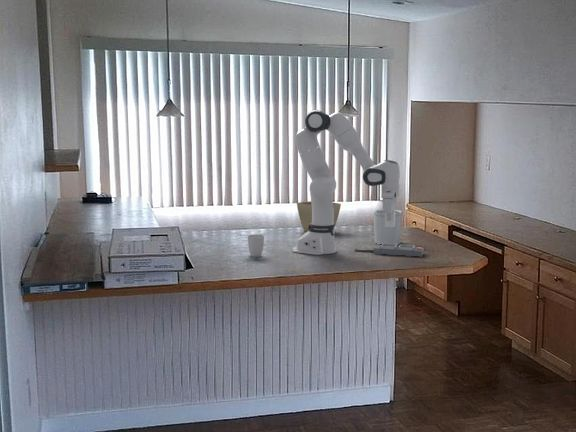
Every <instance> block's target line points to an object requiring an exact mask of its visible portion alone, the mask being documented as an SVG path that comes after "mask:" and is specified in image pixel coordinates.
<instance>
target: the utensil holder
mask: <svg viewBox="0 0 576 432" xmlns="http://www.w3.org/2000/svg"><path fill="white" fill-rule="evenodd" d="M394 210H395V226H394V227H385V213H384V212H383V208H381V209H380V208H379V209H375V210H374V211H373V215H374V219H373V220H374V222H373V225H374V227H373V228H374V231H373V232H374V243H375V244H376V243H377V244H376V245H379V244H382V243H386V244H397V245H400V243H401V226H402V224H401V222H402V210H398V209H394Z"/></svg>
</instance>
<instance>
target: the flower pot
mask: <svg viewBox="0 0 576 432" xmlns="http://www.w3.org/2000/svg"><path fill="white" fill-rule="evenodd" d="M341 205H342V204H341V203H338V202H333V208H334V227H335V228H336V224H337V222H338V218H339V215H340V210H341ZM296 207H297V213H298V217H299V220H300V221H299V222H300V225H301V227H302V229H303V231H304V232H308V231H309V230H308V225H309V224H310V223H312V204H311V200H310V201H300V202H296Z"/></svg>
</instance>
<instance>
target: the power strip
mask: <svg viewBox="0 0 576 432" xmlns="http://www.w3.org/2000/svg"><path fill="white" fill-rule="evenodd" d="M398 245H399V246H398ZM424 250H425V249H424V247H422V246H421V247H419V246H417V247H416V245H414V244H403V243H402V244H400V243H399V244H386V243H382V245H379V244H376V245H375V246H374V247H373V249H365V248H364V249H362V248H355V249H354V251H355V252H363V253H364V252H366V253H373V255H381V254H387V256H396V255H406V256H405V257H411V256H420V257H419V258H422V257H423V256H422V255H424V252H425V251H424Z"/></svg>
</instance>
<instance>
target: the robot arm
mask: <svg viewBox="0 0 576 432" xmlns="http://www.w3.org/2000/svg"><path fill="white" fill-rule="evenodd" d="M304 123H305V127H304V128H302V129H300V130H298V131H297V132H296V134H295V136H294V137H295V139H294V140H295V144H296V147H297V151H298V153H299V157H300V159H301V162H302V165H303V167H304V169H305V171H306V172H307V174H308V176H309V177H310V179H311V183H310V184H309V192H310V195H309V196H310V201H311V204H312V223H310V224H309V225H308V230H309V231H305V232H304V233H303V234H302V235H300V237H298V238H297V243H296V246H294V247H293V248H292V250H291V251H292V253H296V254H297V253H299V254H307V255H314V256H315V255H317V256H321V255H330V254H335V253H336V252H337V249H336V243H335V233H336V231H335V230H336V229H335V228H336V226H335V227H334V208H333V203H334V201H333V193H335V191H336V189H337V181H336V179H335V177H334V175H333V172H332V171H331V168H330V167H329V165H328V164H327V161H326V158H325V157H324V154H323V151H322V148H321V146H320V142H319V140H318V135H319V134H320V133H322V132H323V131H327V132H329V133H330V134H331V136H332V137H333V138H334V140H335V142H336V143H337V144H338V145H339V147H340V148H342V150H344V151H346V152H348V153H350V154H351V155H352V156H353V157H354V158H355V160H356V161H357V162H358V164H359V165H360V167H361V168H362V170H363V173H362V181H363V182H364V183H365V185H367V186H369V187H375V186H379V185H381V187H380V188H381V189H380V191H381V197H380V198H381V199H382V209H383V212H384V213H385V214H386V215H387V221H391V212H392V211H393V210H396V209H397V199H398V198H397V197H400V184H399V181H400V165H399V163H398V162H397V161H394V160H392V159H391V160H390V159H384V160H383V161H380V162H379V163H375V162H374V161H373V159H372V158H371V156H370V155H369V153H368V152H367V151H366V149H365V148H364V146H363V144H362V140H361V139H360V137H359V134H358V132H357V131H356V129H355V127H354V125H353V124H352V123H351V122H350V120H349V118H347V117H346V116H345V115H344V114H343V113H342V112H339V111H337V112H333V113H332V114H327V113H325V112H323V111H321V110H320V109H319V110H318V109H313V110H311V111H309V112H308V113H307V114H306V115H305V118H304Z"/></svg>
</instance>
